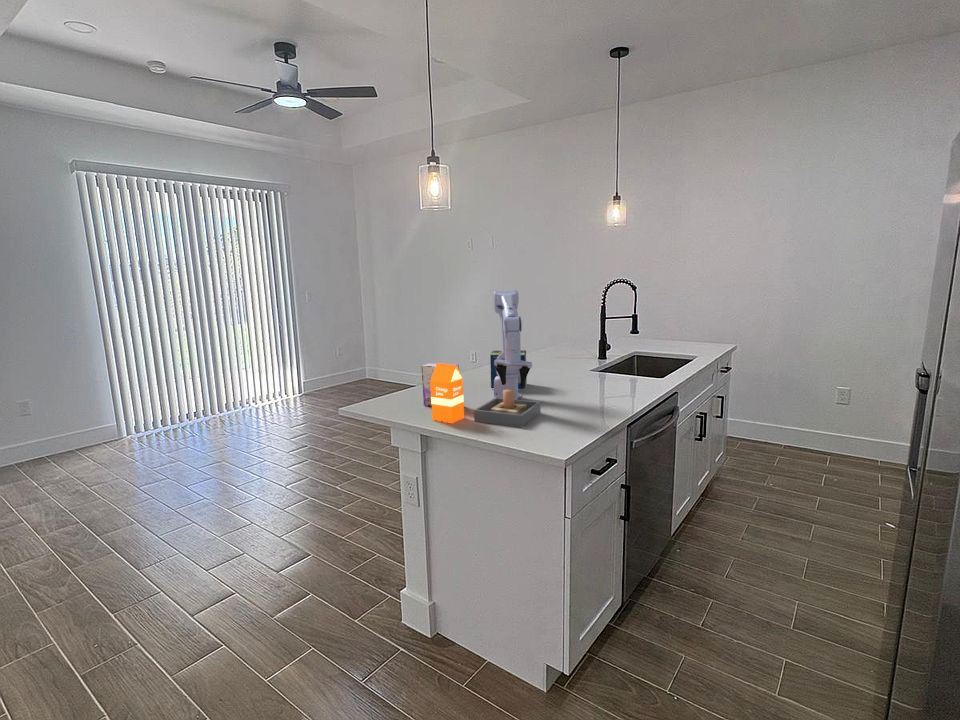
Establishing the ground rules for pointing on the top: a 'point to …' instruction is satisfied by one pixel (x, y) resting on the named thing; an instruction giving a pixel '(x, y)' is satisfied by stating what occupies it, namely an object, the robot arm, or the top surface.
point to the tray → (505, 418)
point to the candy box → (428, 381)
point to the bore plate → (517, 409)
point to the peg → (508, 399)
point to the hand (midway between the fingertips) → (513, 385)
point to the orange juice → (447, 393)
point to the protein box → (493, 367)
